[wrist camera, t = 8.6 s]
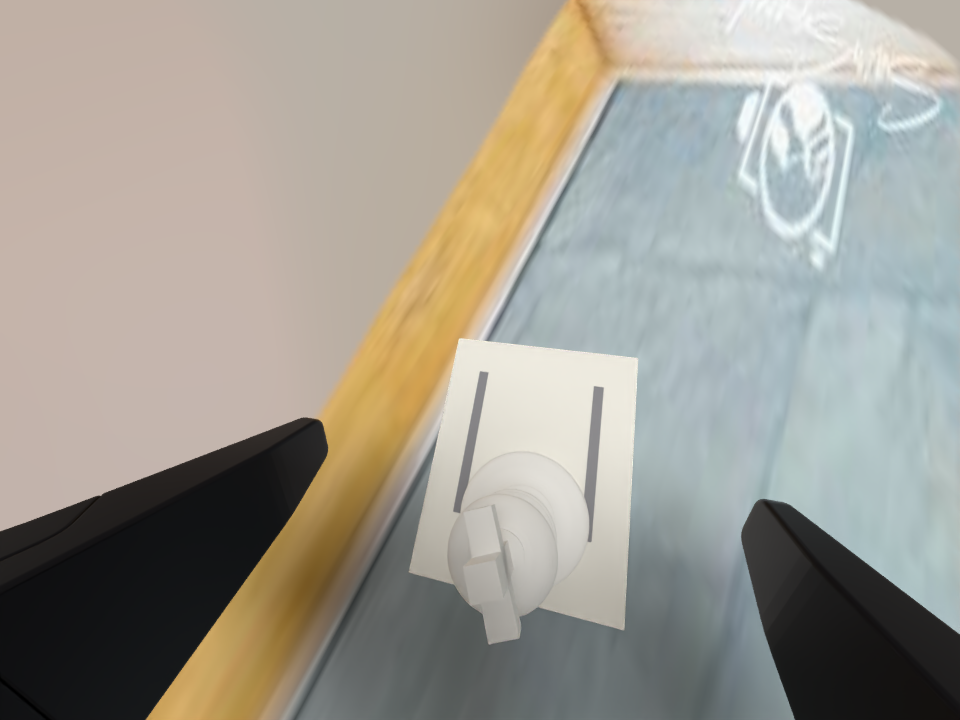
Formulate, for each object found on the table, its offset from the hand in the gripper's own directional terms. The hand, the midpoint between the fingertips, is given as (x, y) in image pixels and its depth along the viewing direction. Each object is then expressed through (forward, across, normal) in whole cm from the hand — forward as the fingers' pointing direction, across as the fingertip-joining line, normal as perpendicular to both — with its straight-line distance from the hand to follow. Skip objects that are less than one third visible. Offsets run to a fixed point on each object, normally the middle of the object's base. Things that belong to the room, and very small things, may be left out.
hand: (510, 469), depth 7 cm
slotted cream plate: (+6, 0, +5) cm, 8 cm away
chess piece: (+4, 0, +6) cm, 8 cm away
